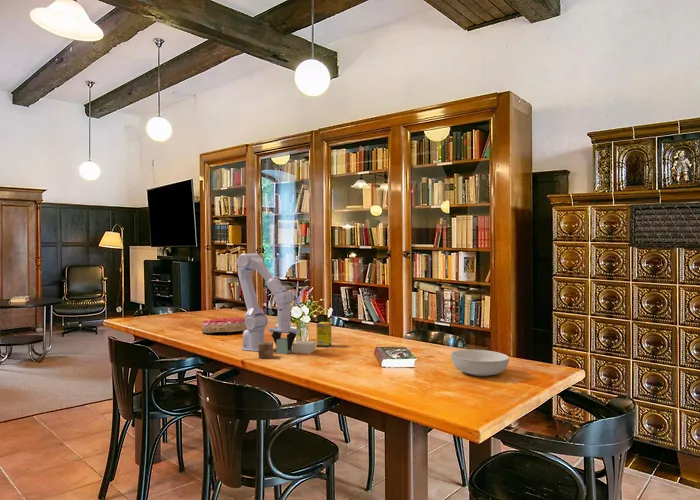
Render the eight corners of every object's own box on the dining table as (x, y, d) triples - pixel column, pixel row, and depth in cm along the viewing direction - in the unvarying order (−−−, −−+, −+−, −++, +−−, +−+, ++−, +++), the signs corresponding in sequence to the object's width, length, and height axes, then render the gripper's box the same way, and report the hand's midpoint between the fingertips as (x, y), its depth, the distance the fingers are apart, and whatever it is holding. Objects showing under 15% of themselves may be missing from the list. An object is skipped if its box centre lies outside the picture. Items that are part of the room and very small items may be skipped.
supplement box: (328, 347, 234) (328, 323, 234) (316, 346, 235) (316, 323, 235) (331, 344, 240) (331, 322, 240) (319, 344, 241) (319, 321, 241)
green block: (276, 353, 221) (276, 339, 221) (281, 351, 225) (281, 337, 225) (286, 354, 219) (286, 340, 219) (291, 351, 224) (291, 338, 224)
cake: (233, 334, 262) (233, 319, 262) (191, 334, 269) (191, 319, 269) (255, 330, 286) (255, 316, 286) (216, 330, 292) (216, 316, 293)
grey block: (292, 353, 223) (292, 344, 223) (298, 349, 230) (298, 340, 230) (309, 354, 221) (309, 344, 221) (315, 350, 228) (315, 341, 228)
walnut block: (258, 358, 210) (258, 344, 210) (261, 356, 215) (261, 342, 215) (270, 358, 210) (270, 344, 210) (273, 356, 215) (273, 342, 215)
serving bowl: (500, 383, 171) (500, 363, 171) (442, 375, 182) (442, 356, 182) (515, 371, 189) (515, 352, 189) (461, 364, 200) (461, 347, 200)
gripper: (265, 319, 221) (265, 350, 221) (294, 320, 216) (295, 352, 216) (272, 317, 227) (272, 347, 227) (301, 318, 223) (301, 349, 223)
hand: (284, 349), depth 222 cm, fingers closed on green block, 5 cm apart
